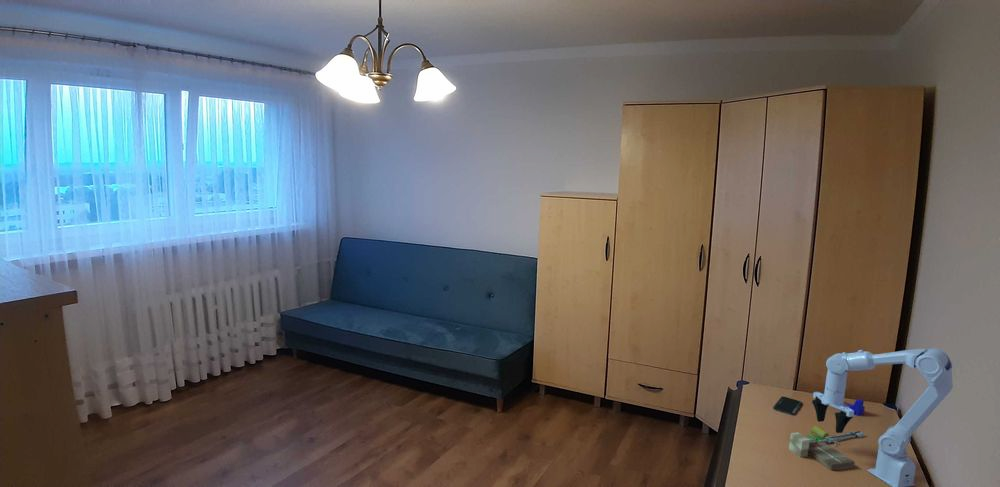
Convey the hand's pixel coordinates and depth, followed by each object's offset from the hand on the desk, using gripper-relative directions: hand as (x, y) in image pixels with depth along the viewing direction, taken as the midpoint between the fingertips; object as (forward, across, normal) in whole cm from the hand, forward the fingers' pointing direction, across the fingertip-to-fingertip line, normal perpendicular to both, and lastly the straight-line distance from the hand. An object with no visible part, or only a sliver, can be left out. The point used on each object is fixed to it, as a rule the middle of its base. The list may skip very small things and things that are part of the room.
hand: (829, 426), depth 179 cm
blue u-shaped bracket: (+10, -27, +36) cm, 46 cm away
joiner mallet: (+10, -2, -7) cm, 12 cm away
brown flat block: (+9, +3, -3) cm, 10 cm away
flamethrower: (+10, -8, +9) cm, 16 cm away
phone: (+10, -32, +13) cm, 36 cm away
